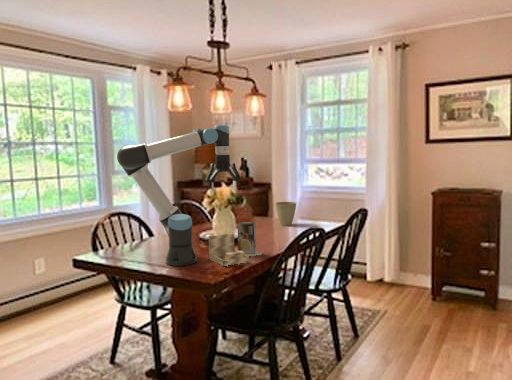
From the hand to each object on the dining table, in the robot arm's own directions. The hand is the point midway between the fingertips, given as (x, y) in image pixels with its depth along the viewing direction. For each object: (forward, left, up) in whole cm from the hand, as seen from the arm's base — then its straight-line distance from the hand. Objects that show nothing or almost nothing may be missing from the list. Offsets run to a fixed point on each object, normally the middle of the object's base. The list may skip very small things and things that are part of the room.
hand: (223, 193), depth 238 cm
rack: (-7, -19, -32) cm, 38 cm away
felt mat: (+7, -11, -32) cm, 34 cm away
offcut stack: (-7, -25, -32) cm, 41 cm away
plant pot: (+70, +45, -32) cm, 89 cm away
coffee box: (+8, -11, -31) cm, 34 cm away
